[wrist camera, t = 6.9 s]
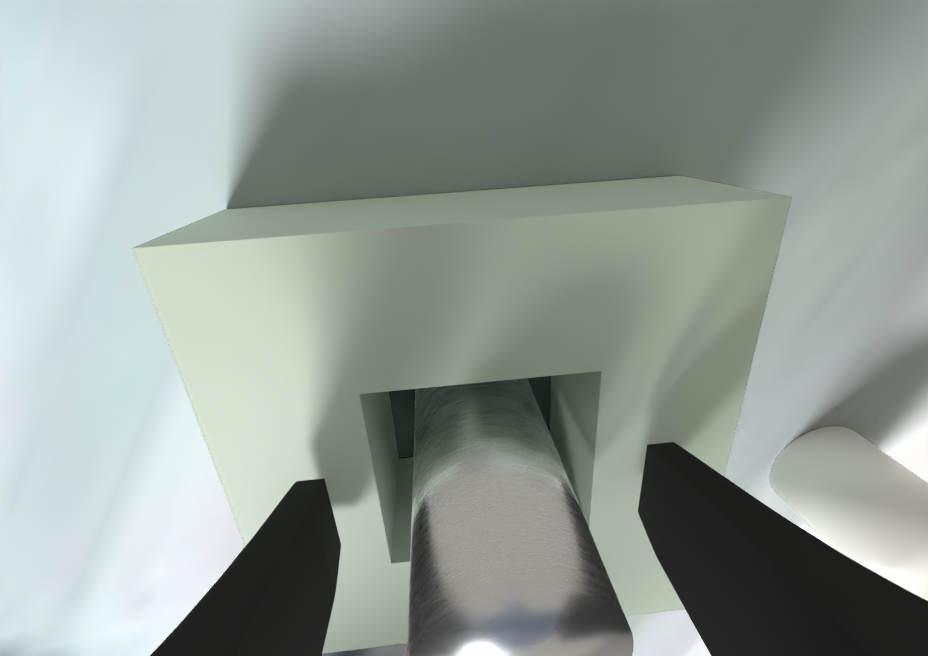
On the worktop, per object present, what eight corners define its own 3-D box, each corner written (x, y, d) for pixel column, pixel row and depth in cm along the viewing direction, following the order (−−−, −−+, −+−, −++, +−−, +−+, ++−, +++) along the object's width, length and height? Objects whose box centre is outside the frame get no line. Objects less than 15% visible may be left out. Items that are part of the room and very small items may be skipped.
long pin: (533, 423, 15) (635, 703, 8) (428, 445, 15) (433, 743, 8) (519, 329, 13) (630, 566, 6) (403, 353, 13) (379, 617, 6)
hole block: (635, 505, 17) (692, 607, 13) (318, 540, 16) (287, 658, 13) (680, 175, 12) (792, 196, 8) (225, 209, 11) (131, 248, 8)
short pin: (847, 494, 18) (973, 605, 14) (760, 504, 18) (862, 619, 14) (876, 421, 16) (1028, 520, 12) (781, 431, 16) (903, 534, 12)
